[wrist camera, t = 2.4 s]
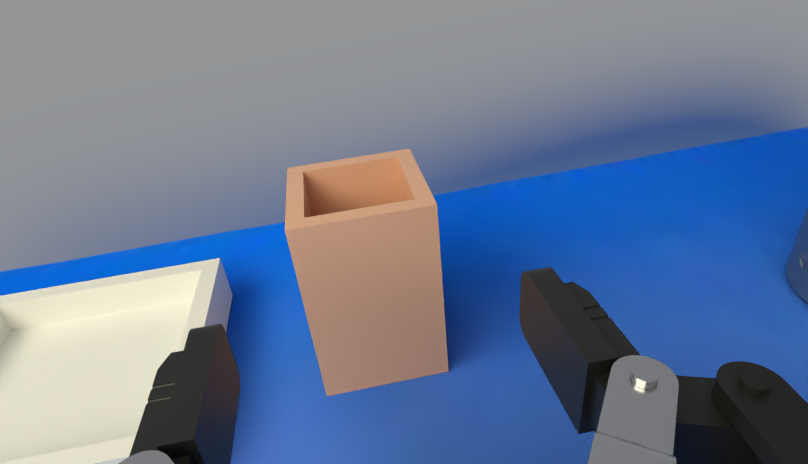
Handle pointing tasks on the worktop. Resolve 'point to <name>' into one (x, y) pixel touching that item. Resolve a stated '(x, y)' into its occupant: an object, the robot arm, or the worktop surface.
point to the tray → (95, 358)
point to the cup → (368, 269)
